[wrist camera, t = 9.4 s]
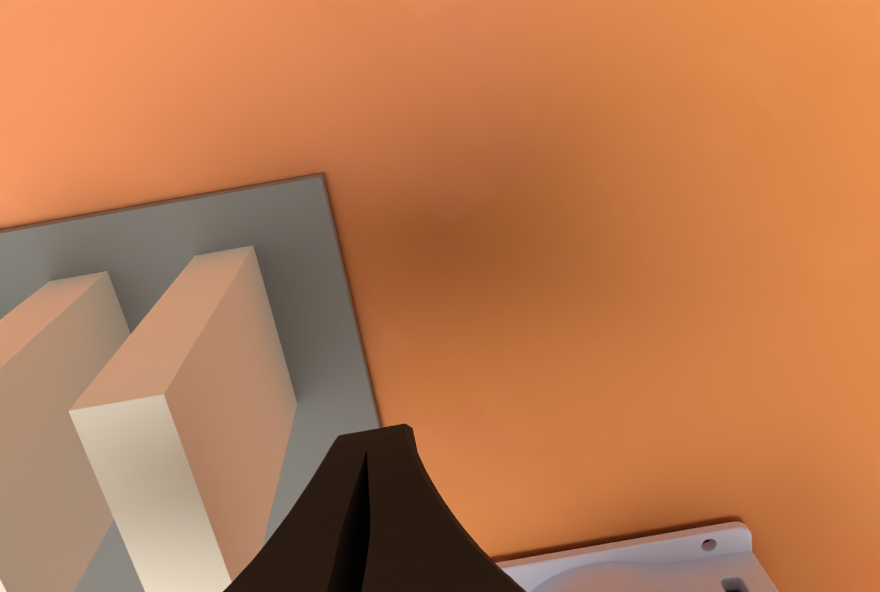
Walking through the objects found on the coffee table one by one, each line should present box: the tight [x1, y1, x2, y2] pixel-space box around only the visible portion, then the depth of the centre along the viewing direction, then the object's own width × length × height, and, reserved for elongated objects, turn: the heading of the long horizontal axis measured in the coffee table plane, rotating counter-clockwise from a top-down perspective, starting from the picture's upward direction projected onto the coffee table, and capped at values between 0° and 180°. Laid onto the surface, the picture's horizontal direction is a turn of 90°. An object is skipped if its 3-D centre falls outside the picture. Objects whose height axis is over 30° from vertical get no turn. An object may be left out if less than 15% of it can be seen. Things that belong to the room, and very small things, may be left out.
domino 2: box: [69, 245, 297, 592], centre depth 16 cm, size 2×5×8 cm, turn 9°
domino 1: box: [0, 271, 131, 592], centre depth 16 cm, size 2×5×8 cm, turn 9°
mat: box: [0, 173, 381, 592], centre depth 22 cm, size 20×18×1 cm
